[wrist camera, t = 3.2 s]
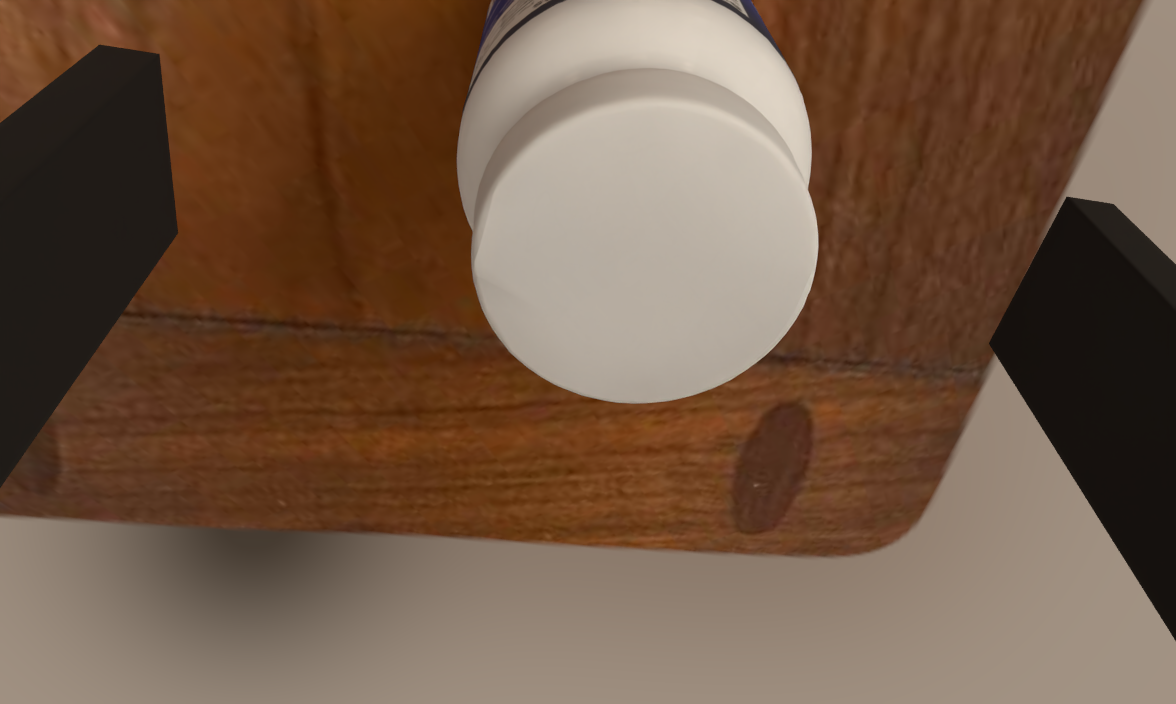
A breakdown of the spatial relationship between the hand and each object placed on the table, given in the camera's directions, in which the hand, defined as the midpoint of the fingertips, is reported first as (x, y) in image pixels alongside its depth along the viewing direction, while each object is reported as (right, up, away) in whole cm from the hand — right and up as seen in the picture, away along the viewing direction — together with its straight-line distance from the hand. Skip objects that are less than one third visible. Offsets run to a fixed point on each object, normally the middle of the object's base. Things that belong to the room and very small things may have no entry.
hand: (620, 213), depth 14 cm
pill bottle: (0, +5, +7) cm, 8 cm away
